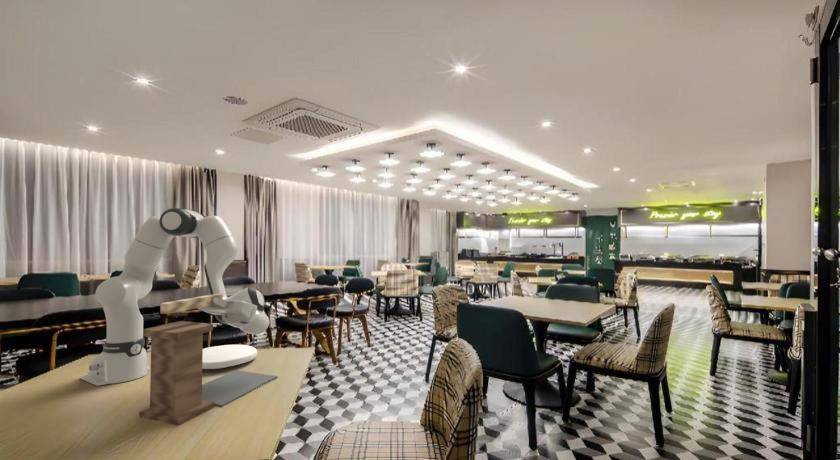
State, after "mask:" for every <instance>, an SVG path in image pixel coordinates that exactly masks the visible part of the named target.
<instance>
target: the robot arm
mask: <svg viewBox="0 0 840 460" xmlns="http://www.w3.org/2000/svg"><path fill="white" fill-rule="evenodd" d="M175 237H179V238H189V239H191V238H192V239H194V238H198V239H199V240H200V242H201V243H202V246H203V248H204V250H205V254H206V261H205V264H204V266H203V267H204V274H205V278H206V281H207V286H208V288H209V293H210V295H211V294H223V300H222V299H219V298H217V297H213V298H212V300H211V302H212V303H214V304H215V305H210V306H205V307H200V308H196V309H197V310H200V311H202V312H205V313H207V314H210V315H214V317H215V319H216V320H217V321H218V322H219V323H221V324H225V325H229V326H231V327H233V328H237V329H238V328H239V329H240V331H242V332H244V333H248V334H250V335H256V336H257V335H260V334H262V333H264V332H265V331H266V330H267V329H268V327H269V325H270V319H269V317H268V315H267V313H266V312H265V304H266V301H265V295H264V294H263V293H262V292H261V291H260V289H259V288H257V287H255V286H248V287H245V288H243V289H242V290H240V291H238V292H235V294H232V295H231V296H228V295H227V292H226V289H225V284H224V281H223V275H224V273H225V271H226V270H227V268H228V267H229V265H231V263H233V261H234V260H235V259H236V257H237V254H238V250H239V248H238V243H237V242H236V239H235V237H234V236H233V233H232V232H231V230H230V227H229V226H228V225H227V224H226V222H225V221H224V220H223V219H222V217H220V216H218V215H208V216H205V215H204V214H202V213H200V212H197V211H195V210H191V209H184V208H180V207H173V208H169V209H167V210H165V211H163V212H162V214H161V215H153V216H150V217H149V218H148V219H147V220H146V221H145V222H144V223H143V224H142V225H141V226H140V228H139V230H138V232H136V235H135V236H134V238H133V240H132V242H131V243H130V246H129V247H128V249H127V251H126V253H125V255H124V266H123V269H122V273H120V274H119V275H118V276H112V277H110V278H107V279H106V280H104V281H102V282H100V284H99V285H98V286H97V288H96V289H95V297H96V300H97V301H98V303H100V304H101V306H102V309H103V312H104V315H105V316H104V317H105V320H106V341H105V342H101V343H102V345H101V346H102V348H103V349H102V352H101V353H99V354H98V355H96V356H95V358H93V359H92V360H91V361H90V363H89V367H88V372H86V373H84V374H82V375H80V380H83V381H85V382H88V383H90V384H92V385H93V386H97V387H98V386H104V385H110V384H118V383H119V384H120V383H124V382H129V381H133V380H137V379H140V378H141V377H145V376H146V375H147V374H148V372H149V370H151V365H148V357H147V355H148V354H147V350H146V349H145V348H144V347H145V343H146V342H145V336H143V329H144V316H143V314H141V312H140V309H139V305H138V301H140V300H142V299H144V298H145V297H146V296H147V295H148V294H149V293H150V292H151V291H152V289H153V280H154V277H155V274H156V270H157V268H158V265H159V263H160V261H161V260H162V257H163V256H164V253H165V252H166V250H167V248H168V246H169V244H170V242H171V241H172V239H173V238H175Z"/></svg>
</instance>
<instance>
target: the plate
mask: <svg viewBox="0 0 840 460" xmlns="http://www.w3.org/2000/svg"><path fill="white" fill-rule="evenodd" d="M257 357H258V349H257V348H256V347H254V346H251V345H247V344H224V345H223V344H222V345H218V346H217V345H215V346H209V347H205V348H204V347H203V354H202V370H217V369H224V368H229V367H234V366H237V365H241V364H245V363H248V362H250V361H252V360H254V359H256V358H257Z"/></svg>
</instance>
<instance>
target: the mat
mask: <svg viewBox="0 0 840 460" xmlns="http://www.w3.org/2000/svg"><path fill="white" fill-rule="evenodd" d="M276 379H279V378H278V375H272V374H264V373H258V372H250V371H244V370H238V369H236V370H232V371H230V372H228V373H225V374H223V375H221V376H219V377H216V378H215V379H212V380H209V381H207V382H205V383H202V400H203V401H209V402H214V403H215V406H216V407H220V408H221V407H222V408H223V407H225V406H227V405H228V404H230V403H233V402H234V401H236V400H238V399H240V398H242V397H243V396H245V395H248V394H250V393H252V392H253V391H255V390H257V389H259V388H261V387H262V386H261V385H263V384H265V385H266V383H267V384H268V383H270V382H272V381H275V380H276ZM271 380H272V381H271ZM260 386H261V387H260ZM263 386H264V385H263ZM258 387H259V388H258ZM256 388H257V389H256ZM254 389H255V390H254ZM252 390H253V391H252ZM247 393H248V394H247Z"/></svg>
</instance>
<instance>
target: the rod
mask: <svg viewBox="0 0 840 460" xmlns="http://www.w3.org/2000/svg"><path fill="white" fill-rule="evenodd" d="M213 297H217V298H219V299H222V300H223V294H211V293H210V294H206V295H200V296H195V297H190V298H183V299H178V300H177V299H176V300H172V301H166V302H160V311H159V313H160V314H161V315H171V314H175V313H180V312H184V311H185V312H186V311H189V310H190V311H191V310H194V309H197V308H200V307H205V306H210V305H215V304H214V303H212V302H211V300H212V298H213Z"/></svg>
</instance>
